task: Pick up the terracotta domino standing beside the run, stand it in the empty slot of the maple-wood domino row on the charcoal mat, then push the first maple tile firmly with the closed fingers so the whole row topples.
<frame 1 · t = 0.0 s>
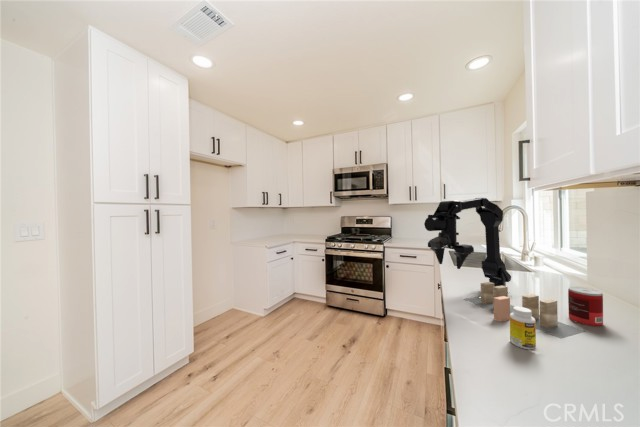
hand: (449, 266, 98), 15 cm above the table, tool pointing down, fingers open, 9 cm apart
domino 1: (487, 302, 94), resting on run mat
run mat: (514, 314, 84), on the table
supplement bottle: (522, 345, 65), on the table
canned food: (585, 322, 77), on the table
domino 5: (548, 325, 75), resting on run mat
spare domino: (502, 320, 80), on the table
domino 2: (500, 307, 89), resting on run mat
domino 4: (530, 318, 80), resting on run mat
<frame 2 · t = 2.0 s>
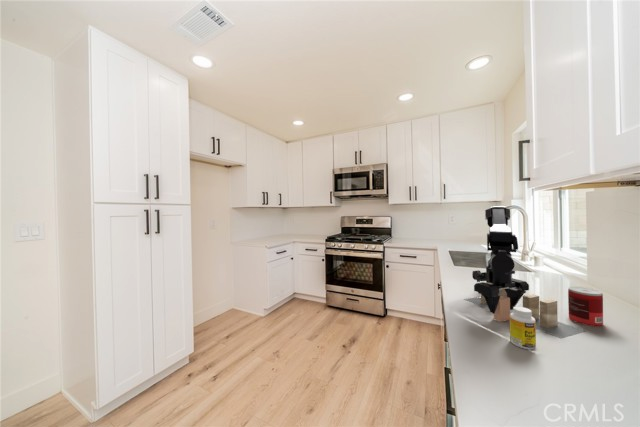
hand: (501, 311, 80), 3 cm above the table, tool pointing down, fingers open, 8 cm apart
domino 4: (530, 318, 80), point 1 cm above the table, touching gripper, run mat
everything else where it was.
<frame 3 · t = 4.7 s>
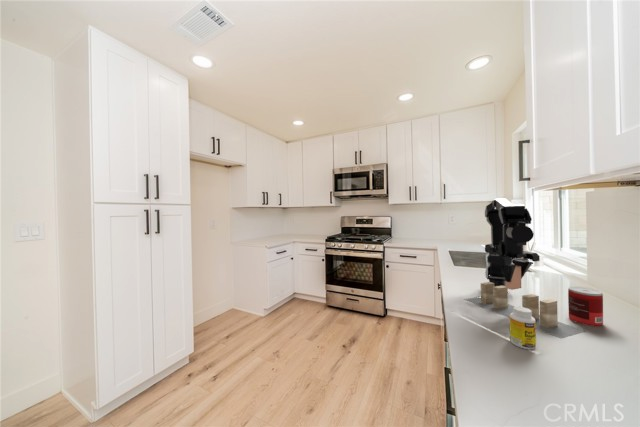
hand: (513, 281, 84), 12 cm above the table, tool pointing down, fingers closed on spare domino, 5 cm apart
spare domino: (513, 288, 84), point 10 cm above the table, touching gripper
domino 4: (530, 318, 80), resting on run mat
everything else where it was.
when the fingers open (4 cm above the table, at t = 7.1 s): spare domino stays where it is, resting on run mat.
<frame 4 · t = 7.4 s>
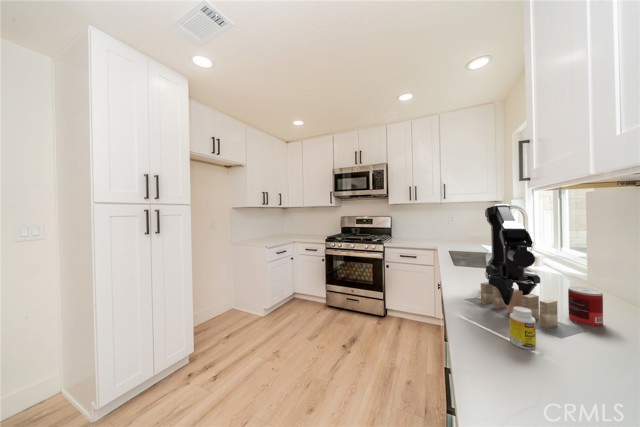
hand: (514, 303, 84), 4 cm above the table, tool pointing down, fingers open, 8 cm apart
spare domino: (514, 312, 84), resting on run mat
everything else where it was.
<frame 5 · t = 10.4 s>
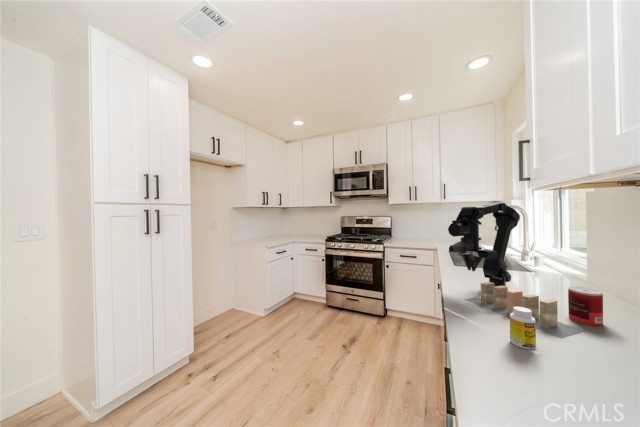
hand: (471, 270, 100), 12 cm above the table, tool pointing down, fingers closed
nothing on the table moved.
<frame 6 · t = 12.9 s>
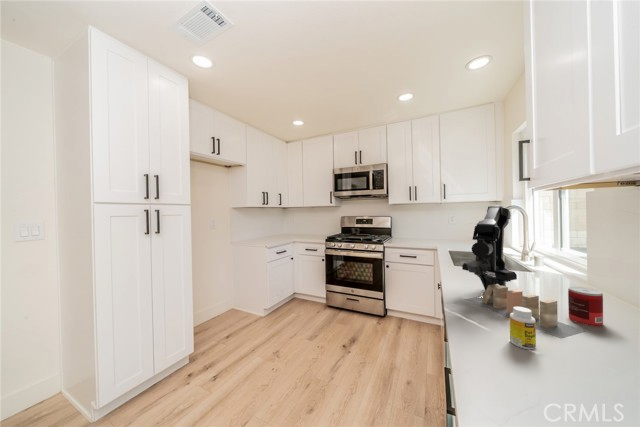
hand: (487, 291, 94), 5 cm above the table, tool pointing down, fingers closed
domino 1: (488, 301, 94), point 1 cm above the table, tilted 23°, touching domino 2, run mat
domino 2: (500, 307, 89), point 1 cm above the table, touching domino 1, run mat
everything else where it was.
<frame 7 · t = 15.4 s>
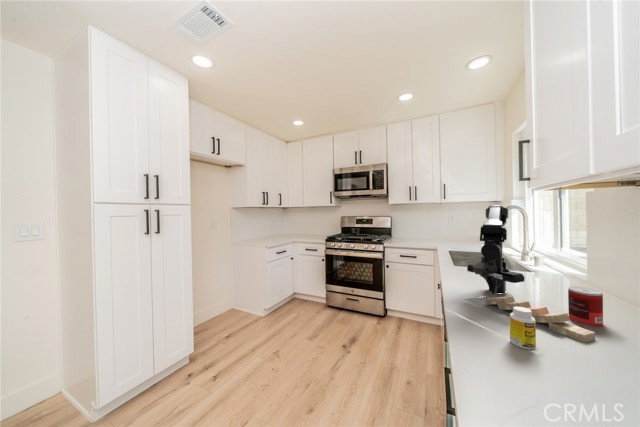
hand: (493, 293, 92), 5 cm above the table, tool pointing down, fingers closed
domino 1: (490, 301, 93), point 1 cm above the table, tilted 67°, touching domino 2, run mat
domino 5: (554, 324, 73), point 1 cm above the table, tilted 90°, touching domino 4, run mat
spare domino: (518, 311, 83), point 1 cm above the table, tilted 67°, touching domino 2, domino 4, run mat
domino 2: (503, 305, 88), point 1 cm above the table, tilted 67°, touching domino 1, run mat, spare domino
domino 4: (535, 317, 78), point 1 cm above the table, tilted 66°, touching domino 5, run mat, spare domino
everything else where it was.
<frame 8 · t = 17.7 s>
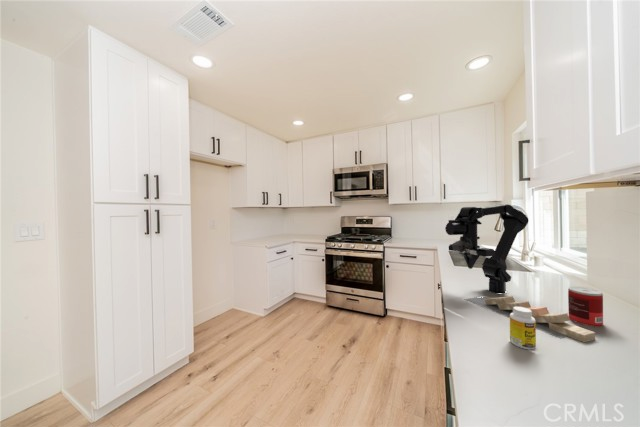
hand: (470, 268, 104), 12 cm above the table, tool pointing down, fingers closed
nothing on the table moved.
at the end: domino 5 tilted 90°; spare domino tilted 67°; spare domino inside the target area (0.9 cm from its centre), point 1.4 cm above the table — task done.
